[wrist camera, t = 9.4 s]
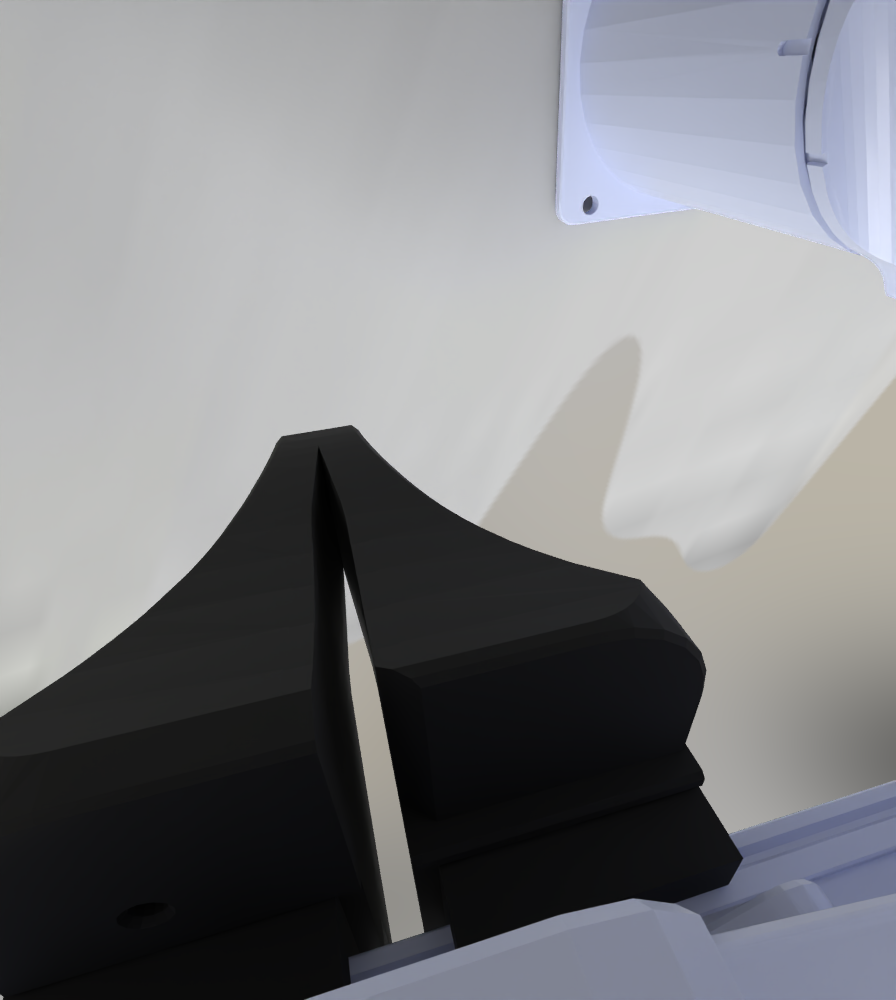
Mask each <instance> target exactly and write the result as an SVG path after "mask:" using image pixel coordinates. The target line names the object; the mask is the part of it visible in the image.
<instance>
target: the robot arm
mask: <svg viewBox="0 0 896 1000" xmlns="http://www.w3.org/2000/svg"><path fill="white" fill-rule="evenodd" d="M589 196H591V197H592V199H593V204H592V207H591V208H590V210H589V211H587V212H585V213H584V212H583V208H582V206H583V202H584V200H585V199H586V198H587V197H589ZM689 209H700V210H703V211H707V212H710V213H714V214H717V215H721V216H724V217H728V218H731V219H735V220H738V221H742V222H745V223H749V224H752V225H756V226H759V227H763V228H766V229H770V230H773V231H777V232H781V233H784V234H788V235H791V236H795V237H798V238H802V239H805V240H809V241H812V242H816V243H819V244H823V245H826V246H830V247H833V248H837V249H840V250H844V251H847V252H851V253H855V254H858V255H862V256H864V257H865V258H867V259H869V260H870V261H872V262H873V263H874V264H875V265H876V266H877V268H878V269H879V270H880V272H881V275H882V277H883V280H884V287H885V293H886V296H889V297H892V298H895V299H896V0H563V10H562V37H561V64H560V92H559V119H558V146H557V173H556V200H555V210H556V215H557V217H558V218H559V220H561V221H562V222H564V223H566V224H569V225H577V224H584V223H592V222H599V221H607V220H614V219H622V218H629V217H637V216H644V215H652V214H659V213H667V212H674V211H681V210H689ZM343 568H344V570H343ZM344 572H345V575H346V578H347V582H348V585H349V589H350V592H351V595H352V599H353V602H354V605H355V609H356V612H357V616H358V619H359V622H360V626H361V629H362V632H363V636H364V639H365V642H366V646H367V649H368V653H369V656H370V659H371V663H372V666H373V670H374V674H375V678H376V682H377V687H378V691H379V697H380V702H381V707H382V712H383V718H384V723H385V728H386V733H387V739H388V744H389V749H390V754H391V760H392V765H393V770H394V775H395V781H396V786H397V791H398V796H399V801H400V807H401V812H402V817H403V822H404V828H405V833H406V838H407V843H408V848H409V854H410V858H411V864H412V869H413V875H414V880H415V885H416V890H417V896H418V901H419V906H420V912H421V917H422V922H423V927H424V933H422V934H419V935H416V936H413V937H410V938H407V939H404V940H400V941H398V942H394V943H392V940H391V934H390V928H389V922H388V916H387V910H386V905H385V898H384V893H383V886H382V880H381V875H380V869H379V862H378V856H377V850H376V844H375V838H374V832H373V826H372V819H371V814H370V808H369V801H368V796H367V789H366V783H365V776H364V771H363V764H362V758H361V751H360V746H359V739H358V733H357V726H356V720H355V714H354V707H353V701H352V695H351V686H350V675H349V661H348V642H347V624H346V605H345V587H344ZM705 675H706V667H705V664H704V660H703V657H702V653H701V651H700V650H699V649H698V647H697V646H696V645H695V644H694V642H693V641H692V640H691V638H690V637H689V636H688V635H687V633H686V632H685V631H684V629H683V628H682V627H681V625H680V624H679V623H678V621H677V620H676V619H675V618H674V616H673V615H672V614H671V613H670V612H669V610H668V609H667V608H666V607H665V606H664V605H663V604H662V603H661V602H660V600H659V599H658V598H657V597H656V596H655V595H654V594H653V593H652V592H651V591H650V590H649V589H648V588H647V587H646V586H645V584H644V583H643V582H642V581H641V580H639V579H635V578H631V577H627V576H623V575H619V574H615V573H611V572H607V571H603V570H599V569H595V568H590V567H587V566H583V565H578V564H575V563H572V562H568V561H565V560H562V559H559V558H556V557H553V556H550V555H547V554H544V553H541V552H538V551H535V550H532V549H530V548H527V547H524V546H522V545H520V544H517V543H514V542H512V541H509V540H507V539H505V538H503V537H501V536H498V535H496V534H494V533H492V532H489V531H487V530H485V529H483V528H481V527H479V526H477V525H475V524H473V523H471V522H469V521H467V520H465V519H463V518H462V517H460V516H458V515H457V514H455V513H453V512H452V511H450V510H448V509H446V508H445V507H443V506H442V505H440V504H439V503H437V502H436V501H434V500H433V499H431V498H430V497H429V496H427V495H426V494H425V493H423V492H422V491H421V490H419V489H418V488H417V487H415V486H414V485H413V484H412V483H411V482H409V481H408V480H407V479H406V478H404V477H403V476H402V475H401V474H400V473H399V472H398V471H397V470H395V469H394V468H393V467H392V466H391V465H390V464H389V463H388V462H387V461H386V460H385V459H383V458H382V457H381V456H380V455H379V454H378V452H377V451H376V450H375V449H374V448H373V447H372V446H371V445H370V444H369V443H368V442H367V441H366V439H365V438H364V437H363V436H362V434H361V433H360V432H359V430H357V429H356V428H355V427H353V426H352V425H349V426H343V427H337V428H331V429H325V430H319V431H312V432H306V433H300V434H294V435H288V436H282V437H281V438H280V439H279V441H278V442H277V443H276V445H275V448H274V450H273V452H272V454H271V456H270V458H269V460H268V462H267V464H266V466H265V468H264V470H263V472H262V473H261V475H260V477H259V479H258V480H257V482H256V484H255V485H254V487H253V489H252V490H251V492H250V494H249V495H248V497H247V499H246V500H245V502H244V504H243V505H242V507H241V508H240V509H239V511H238V512H237V514H236V515H235V516H234V518H233V519H232V521H231V522H230V524H229V525H228V526H227V528H226V529H225V531H224V532H223V533H222V535H221V536H220V537H219V539H218V540H217V541H216V542H215V544H214V545H213V546H212V547H211V549H210V550H209V551H208V552H207V553H206V554H205V555H204V557H203V558H202V559H201V560H200V561H199V562H198V563H197V564H196V565H195V566H194V568H193V569H192V570H191V571H190V572H189V573H188V574H187V575H186V576H185V577H184V578H183V579H182V580H181V581H179V582H178V583H177V584H176V585H175V586H174V587H173V588H172V589H171V590H170V591H169V592H168V593H166V594H165V595H164V596H163V597H162V598H161V599H160V600H159V601H158V602H157V603H156V604H155V605H154V606H152V607H151V608H150V609H149V610H148V611H147V612H146V613H145V614H144V615H143V616H141V617H140V618H139V619H138V620H137V621H135V622H134V623H133V624H132V625H130V626H129V627H128V628H127V629H125V630H124V631H123V632H122V633H121V634H119V635H118V636H117V637H116V638H114V639H113V640H112V641H110V642H109V643H108V644H106V645H105V646H104V647H102V648H101V649H100V650H98V651H97V652H96V653H95V654H93V655H92V656H91V657H89V658H88V659H87V660H85V661H84V662H82V663H81V664H80V665H78V666H77V667H75V668H74V669H73V670H71V671H70V672H68V673H67V674H66V675H64V676H63V677H61V678H60V679H58V680H57V681H55V682H54V683H52V684H51V685H49V686H48V687H46V688H45V689H43V690H41V691H40V692H38V693H37V694H35V695H34V696H32V697H31V698H29V699H28V700H26V701H25V702H23V703H22V704H20V705H19V706H17V707H16V708H14V709H13V710H11V711H10V712H8V713H7V714H5V715H4V716H2V717H0V995H2V996H3V997H4V998H3V1000H896V780H894V781H891V782H888V783H885V784H882V785H879V786H876V787H873V788H869V789H866V790H864V791H861V792H857V793H854V794H851V795H848V796H845V797H842V798H839V799H835V800H832V801H829V802H826V803H823V804H820V805H817V806H814V807H811V808H808V809H805V810H802V811H798V812H796V813H792V814H789V815H786V816H783V817H780V818H777V819H774V820H771V821H768V822H765V823H762V824H758V825H756V826H752V827H749V828H746V829H743V830H740V831H737V832H734V833H731V834H728V833H727V831H726V830H725V828H724V826H723V825H722V823H721V822H720V820H719V818H718V817H717V815H716V814H715V812H714V810H713V809H712V807H711V805H710V804H709V802H708V801H707V799H706V797H705V796H704V794H703V793H702V791H701V789H700V788H699V786H702V784H703V782H704V779H705V778H704V774H703V771H702V769H701V767H700V766H699V764H698V763H697V761H696V760H695V758H694V756H693V755H692V753H691V752H690V750H689V749H688V747H687V746H686V744H685V743H686V740H687V737H688V734H689V731H690V728H691V725H692V723H693V719H694V717H695V714H696V711H697V708H698V705H699V702H700V699H701V696H702V692H703V688H704V681H705Z"/></svg>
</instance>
